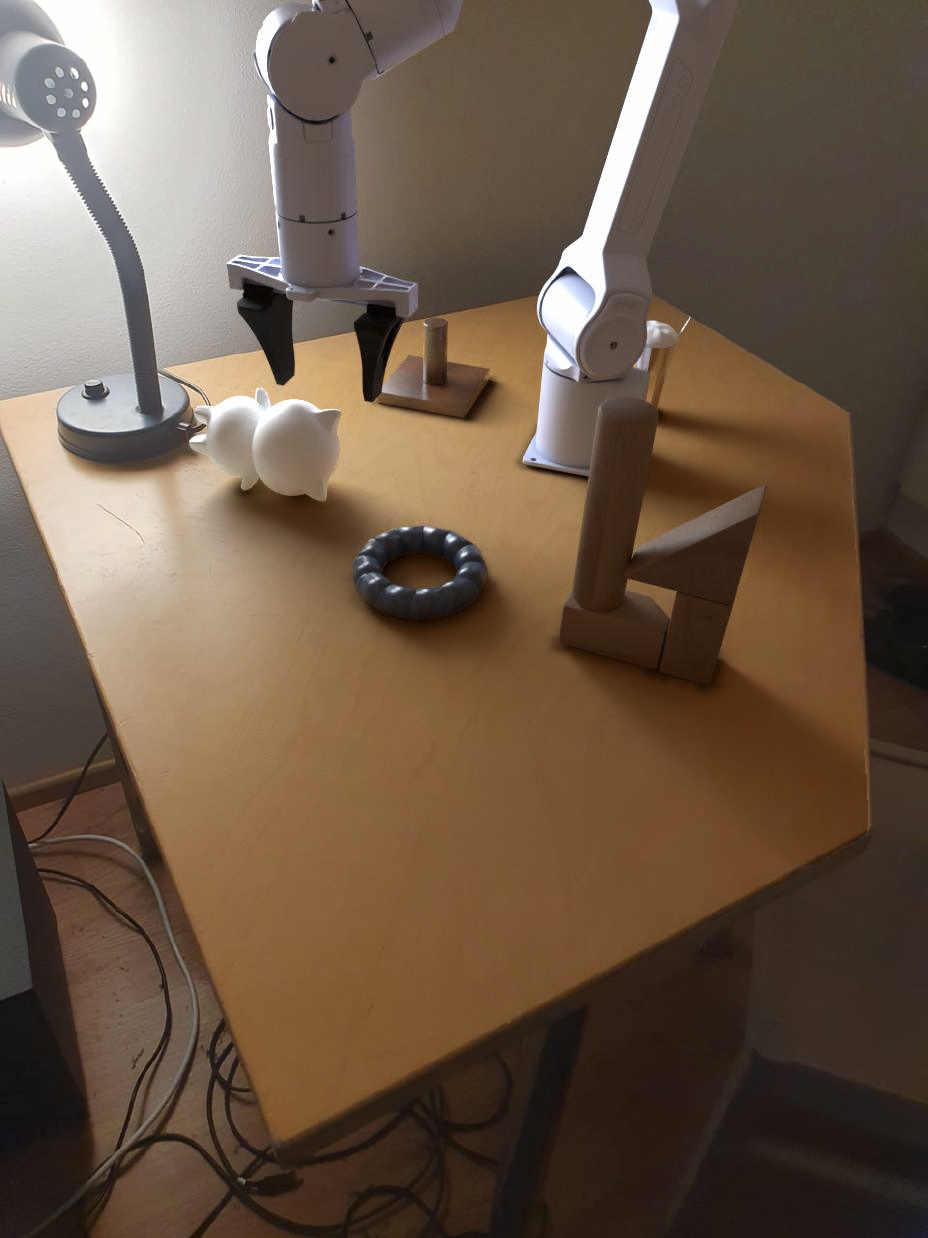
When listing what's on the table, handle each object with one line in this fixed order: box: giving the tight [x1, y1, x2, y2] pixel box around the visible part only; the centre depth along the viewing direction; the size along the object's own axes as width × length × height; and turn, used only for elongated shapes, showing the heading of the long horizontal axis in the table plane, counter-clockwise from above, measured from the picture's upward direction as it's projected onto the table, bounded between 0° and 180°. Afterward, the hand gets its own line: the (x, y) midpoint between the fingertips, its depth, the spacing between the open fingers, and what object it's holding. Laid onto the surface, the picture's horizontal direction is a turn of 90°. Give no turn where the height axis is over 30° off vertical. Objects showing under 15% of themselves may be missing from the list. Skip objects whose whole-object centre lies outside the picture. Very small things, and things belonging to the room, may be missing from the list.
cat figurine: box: [188, 387, 342, 502], centre depth 78 cm, size 9×11×12 cm
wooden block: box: [558, 397, 768, 685], centre depth 58 cm, size 4×11×18 cm, turn 68°
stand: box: [377, 317, 491, 419], centre depth 91 cm, size 9×9×7 cm
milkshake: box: [634, 315, 691, 410], centre depth 88 cm, size 4×5×10 cm
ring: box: [351, 524, 489, 621], centre depth 69 cm, size 10×10×2 cm
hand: (328, 387), depth 73 cm, fingers open, 7 cm apart
